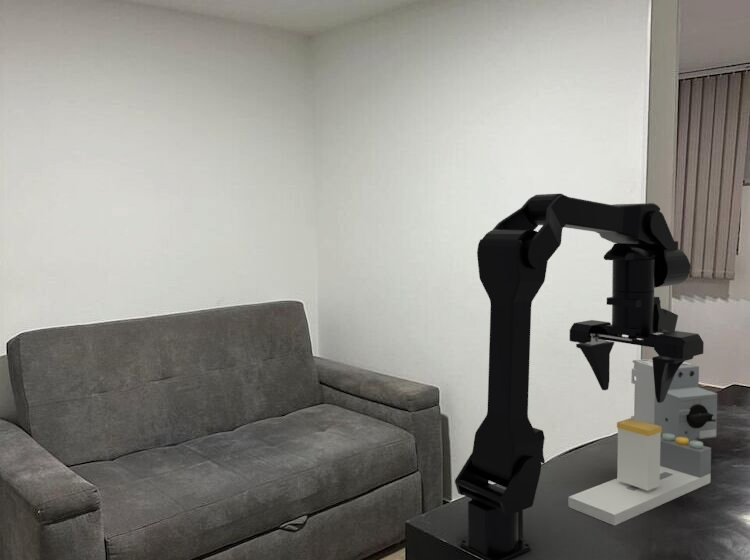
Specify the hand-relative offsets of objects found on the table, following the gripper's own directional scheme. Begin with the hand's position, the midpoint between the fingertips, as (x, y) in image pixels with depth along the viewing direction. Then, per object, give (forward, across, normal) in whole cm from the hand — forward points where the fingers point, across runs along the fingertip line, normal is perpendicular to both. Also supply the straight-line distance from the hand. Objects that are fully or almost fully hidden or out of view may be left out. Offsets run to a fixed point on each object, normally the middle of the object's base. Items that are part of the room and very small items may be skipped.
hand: (631, 395), depth 102 cm
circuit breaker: (+15, +6, -22) cm, 27 cm away
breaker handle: (+13, -1, 0) cm, 13 cm away
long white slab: (+15, -2, -1) cm, 15 cm away
